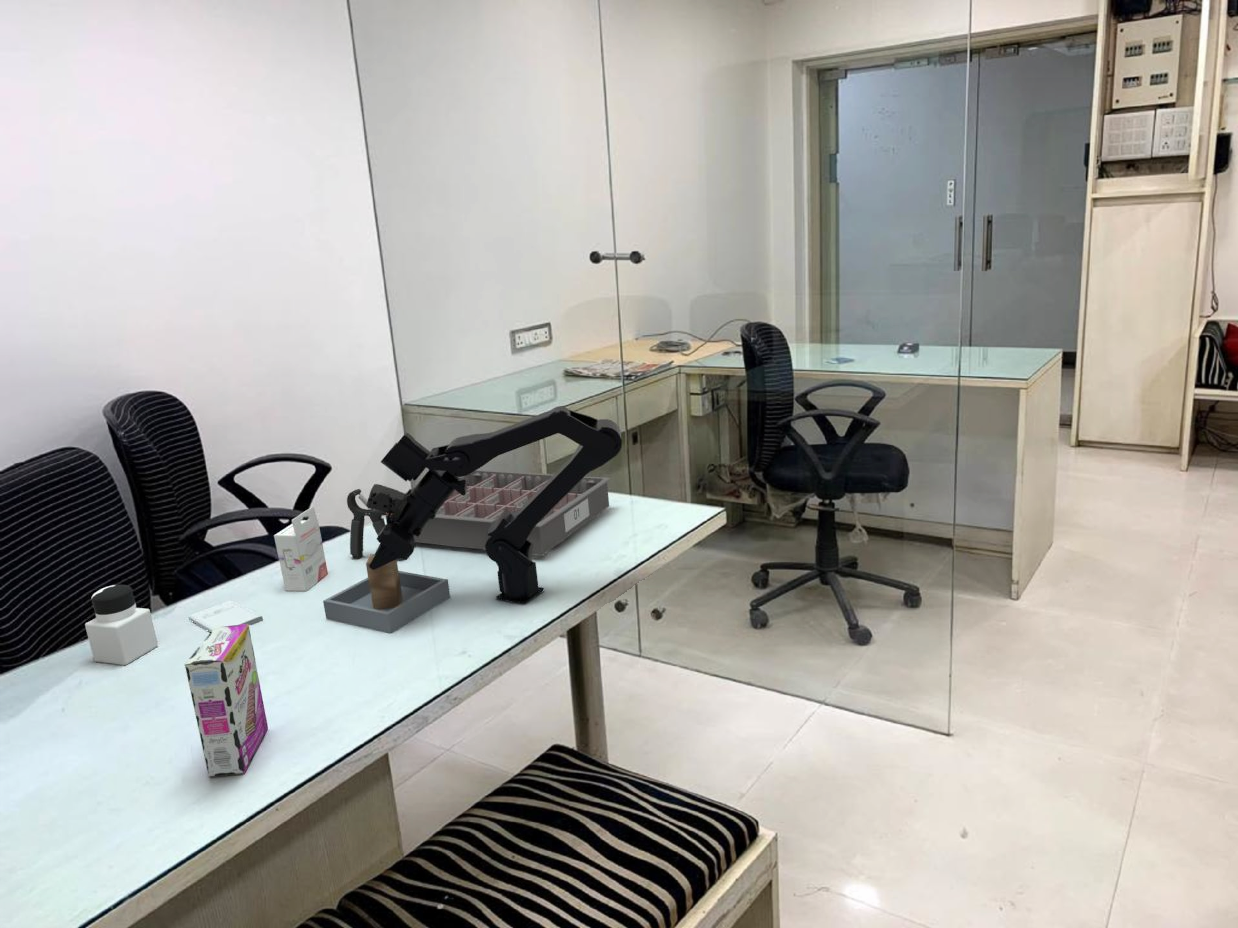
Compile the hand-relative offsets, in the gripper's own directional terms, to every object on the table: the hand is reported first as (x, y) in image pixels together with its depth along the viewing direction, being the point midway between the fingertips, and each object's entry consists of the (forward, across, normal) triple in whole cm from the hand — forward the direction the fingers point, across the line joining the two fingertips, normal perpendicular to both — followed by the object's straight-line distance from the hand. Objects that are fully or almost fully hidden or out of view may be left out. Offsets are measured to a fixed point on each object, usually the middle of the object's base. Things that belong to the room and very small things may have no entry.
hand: (373, 562), depth 163 cm
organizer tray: (-8, -38, +21) cm, 44 cm away
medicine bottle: (+36, +8, -23) cm, 44 cm away
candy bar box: (+15, +43, -2) cm, 46 cm away
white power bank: (+27, -2, -13) cm, 30 cm away
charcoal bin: (+5, 0, +7) cm, 9 cm away
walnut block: (+5, 0, +7) cm, 8 cm away
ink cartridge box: (+19, -17, -6) cm, 26 cm away
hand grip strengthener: (+10, -26, +3) cm, 28 cm away
